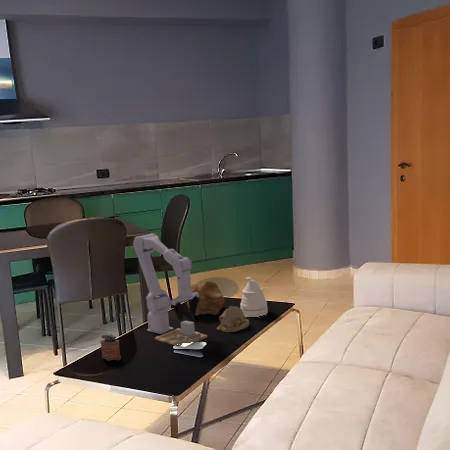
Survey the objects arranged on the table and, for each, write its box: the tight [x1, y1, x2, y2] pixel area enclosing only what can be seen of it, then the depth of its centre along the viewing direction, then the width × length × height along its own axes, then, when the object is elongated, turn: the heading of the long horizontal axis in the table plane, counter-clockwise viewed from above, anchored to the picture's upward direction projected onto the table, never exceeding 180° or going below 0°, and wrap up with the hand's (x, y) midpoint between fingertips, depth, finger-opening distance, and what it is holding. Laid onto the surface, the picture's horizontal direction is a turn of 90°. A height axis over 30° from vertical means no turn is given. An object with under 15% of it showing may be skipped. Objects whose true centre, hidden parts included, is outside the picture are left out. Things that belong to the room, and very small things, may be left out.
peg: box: [180, 320, 196, 337], centre depth 236 cm, size 3×5×7 cm, turn 48°
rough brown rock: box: [186, 279, 225, 317], centre depth 273 cm, size 23×17×15 cm
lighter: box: [99, 334, 122, 361], centre depth 221 cm, size 8×3×10 cm, turn 71°
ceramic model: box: [216, 305, 250, 333], centre depth 249 cm, size 14×11×10 cm
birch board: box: [154, 327, 208, 346], centre depth 239 cm, size 18×14×3 cm
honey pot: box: [239, 276, 269, 318], centre depth 266 cm, size 13×13×18 cm
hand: (186, 317), depth 238 cm, fingers open, 7 cm apart
